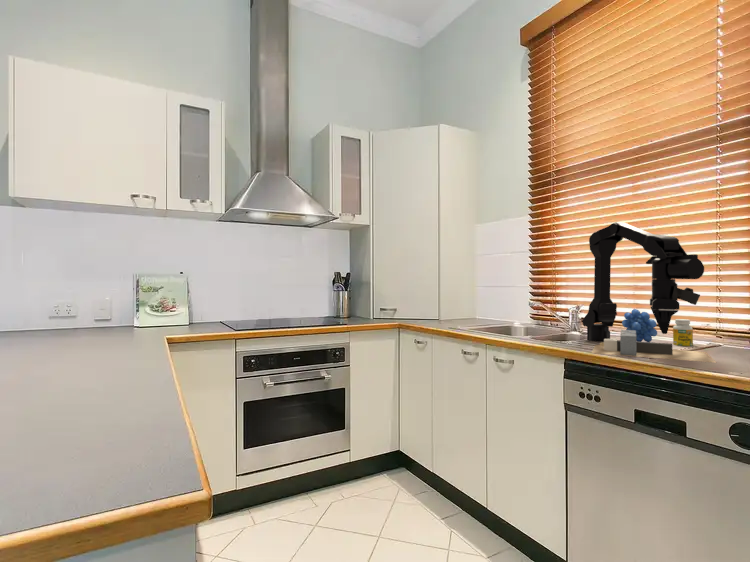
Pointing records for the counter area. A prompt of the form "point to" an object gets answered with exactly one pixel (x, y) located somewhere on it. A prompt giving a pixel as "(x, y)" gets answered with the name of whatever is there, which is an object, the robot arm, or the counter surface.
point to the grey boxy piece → (628, 342)
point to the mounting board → (663, 355)
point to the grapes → (640, 325)
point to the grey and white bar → (640, 347)
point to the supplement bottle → (682, 333)
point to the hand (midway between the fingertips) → (663, 331)
